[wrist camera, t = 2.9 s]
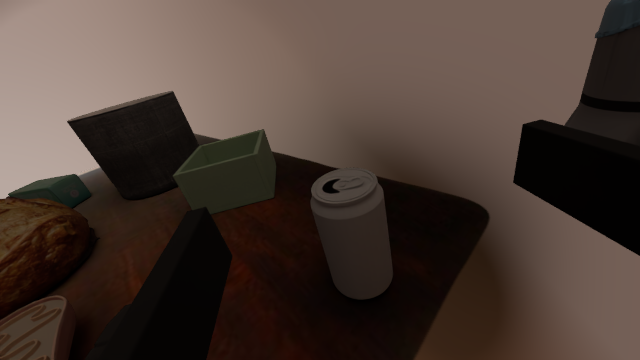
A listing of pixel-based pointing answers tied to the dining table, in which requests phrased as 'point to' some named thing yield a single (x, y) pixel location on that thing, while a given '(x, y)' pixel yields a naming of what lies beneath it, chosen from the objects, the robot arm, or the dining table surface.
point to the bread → (38, 248)
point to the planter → (139, 143)
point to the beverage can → (353, 231)
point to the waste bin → (229, 173)
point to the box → (56, 190)
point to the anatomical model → (38, 331)
